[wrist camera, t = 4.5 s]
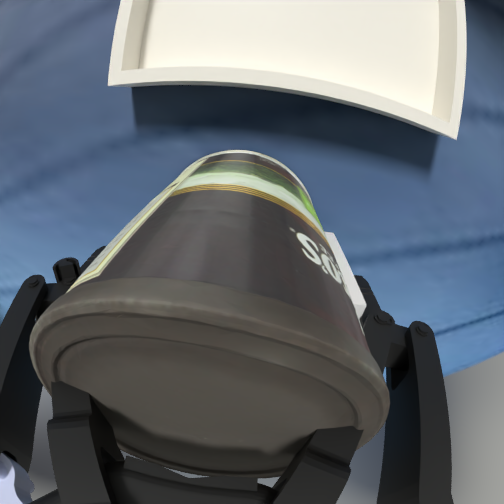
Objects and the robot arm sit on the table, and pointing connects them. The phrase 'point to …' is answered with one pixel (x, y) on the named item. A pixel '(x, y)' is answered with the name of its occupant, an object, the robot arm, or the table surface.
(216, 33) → the tray
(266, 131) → the table surface
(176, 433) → the coffee can
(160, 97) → the table surface
